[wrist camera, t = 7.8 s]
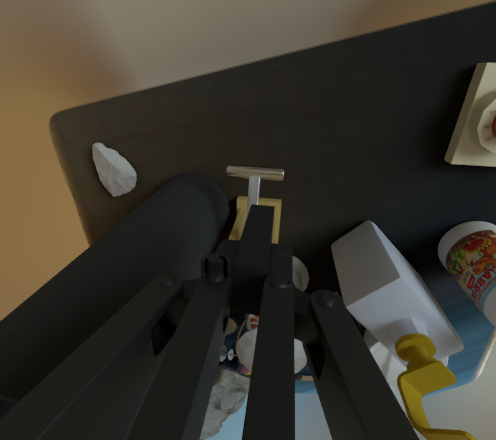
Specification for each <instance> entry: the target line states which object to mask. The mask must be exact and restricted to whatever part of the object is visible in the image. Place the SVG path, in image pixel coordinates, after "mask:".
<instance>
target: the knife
mask: <svg viewBox="0 0 496 440" xmlns="http://www.w3.org/2000/svg"><path fill="white" fill-rule="evenodd" d="M333 292H334V293H335V294H337V295H338V296H339V297H340V298H341V299H342V297H341V296H340V294H339V292H338V291H337V288H335V289H334V290H333ZM342 301H343V299H342ZM343 303H344V301H343ZM344 305H345V304H344ZM347 310H348V309H347ZM348 312H349V311H348ZM349 314H350V315H351V317H352V319H353V321H354V322H355V323H356V325H357V326H358V327H359V328H360V330H361V324H360V323H359V321H358V320H357V319H356V318H355V317H354V316H353V315H352V314H351V313H350V312H349Z"/></svg>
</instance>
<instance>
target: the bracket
mask: <svg viewBox="0 0 496 440" xmlns="http://www.w3.org/2000/svg"><path fill="white" fill-rule="evenodd" d="M281 201H282V200H281V199H269V198H259V203H258V205H266V206H275V211H274V222H273V233H272V243H275V244H278V236H279V224H280V213H281ZM247 202H248V197H243V196H238V198H237V212H236V220H235V223H234V225H233V228H232V231H231V233H230V236H229V238H228V239H230V240H240V238H241V235H242V232H243V229H244V226H245V223H246V215H247Z"/></svg>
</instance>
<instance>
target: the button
mask: <svg viewBox="0 0 496 440" xmlns="http://www.w3.org/2000/svg"><path fill="white" fill-rule="evenodd" d="M493 131H494V133H495V134H496V117H495V119H494V122H493Z"/></svg>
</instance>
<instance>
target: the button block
mask: <svg viewBox="0 0 496 440" xmlns="http://www.w3.org/2000/svg"><path fill="white" fill-rule="evenodd" d="M495 117H496V63H477V65H476V68H475V71H474V74H473V77H472V80H471V83H470V86H469V88H468V91H467V94H466V97H465V100H464V103H463V106H462V109H461V112H460V115H459V118H458V120H457V123H456V126H455V129H454V132H453V135H452V138H451V141H450V144H449V147H448V149H447V152H446V155H445V158H444V161H446V162H448V163H450V164H458V165H475V166H492V167H496V134H495V133H494V131H493V122H494V119H495Z"/></svg>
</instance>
